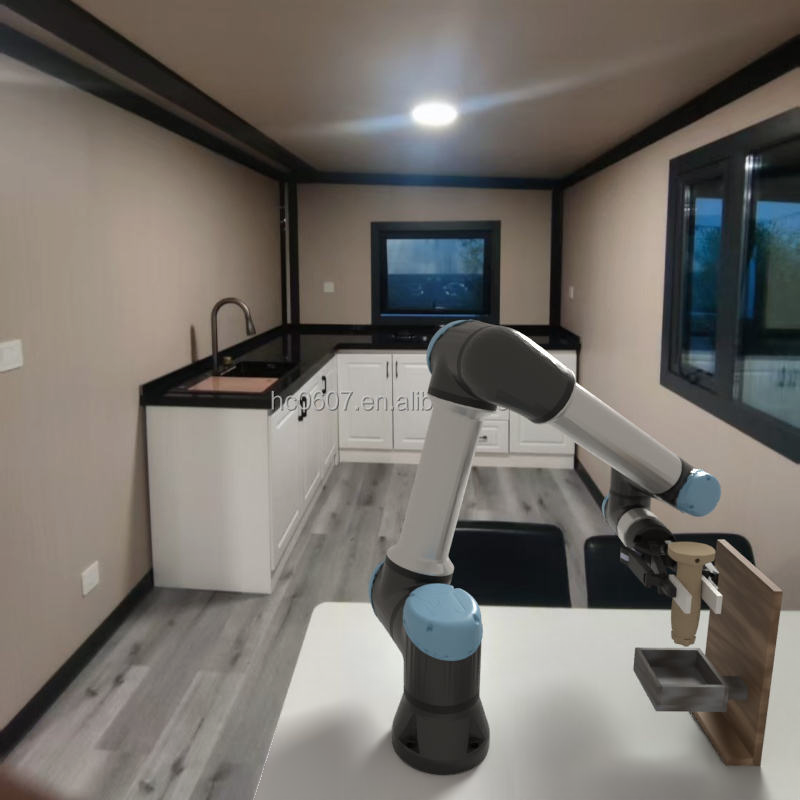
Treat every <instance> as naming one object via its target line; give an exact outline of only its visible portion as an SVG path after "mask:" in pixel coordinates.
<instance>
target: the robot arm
mask: <svg viewBox="0 0 800 800" xmlns="http://www.w3.org/2000/svg"><path fill="white" fill-rule="evenodd" d="M425 358H426V359H425V360H426V366H427V369H428V371H429V373H430V375H431V376H430V381H429V384H428V388H427V393H426V395H427V397H428V399H429V401H430V402H431V404H432V410H431V414H430V419H429V421H428V425H427V430H426V434H425V438H424V442H423V447H422V450H421V453H420V458H419V461H418V464H417V469H416V472H415V477H414V478H415V479H414V480H413V481H414V482H413V485H412V490H411V493H410V497H409V500H408V501H409V502H408V505H407V508H406V513H405V516H404V521H403V525H402V529H401V532H400V536H399V540H398V542H397V543H396V544H393V545H392V546H391V547H388V549H387V551H386V555H385V558H384V559H383V561H382V562H380V563H378V564H377V565H376V566H375V568H374V569H373V571H372V573H371V575H370V577H369V582H368V586H367V587H368V588H367V593H368V599H369V603H370V605H371V608H372V611H373V613H374V615H375V617H376V618H377V619H378V621H379V622H380V623H381V624H382V626H383V627H384V629H385V630H386V632H387V633H388V635H389V636H390V638H391V639H392V641H393V643H394V645H396V647H397V648H398V650H399V651H400V653H401V655H402V658H403V659H402V660H403V693H402V695H401V698H400V702H399V704H398V706H397V709H396V712H395V714H394V718H393V720H392V725H391V742H392V746H393V749H394V751H395V753H396V754H397V756H398V757H399V758H400V759H401V760H402V761H403V762H404V763H406V764H407V765H408V766H410V767H412V768H414V769H416V770H419V771H422V772H425V773H429V774H433V775H434V774H435V775H451V774H452V775H454V774H459V773H462V772H466V771H468V770H470V769H473V768H474V767H476V766H477V765H479V764H480V763H482V761H483V760H484V759H485V758H486V756H487V754H488V752H489V749H490V742H491V741H490V738H491V737H490V736H491V735H490V734H491V733H490V732H491V731H490V725H489V721H488V717H487V715H486V712H485V709H484V705H483V703H482V699H481V697H480V691H481V689H480V687H481V667H482V666H481V664H482V643H483V642H482V640H483V635H484V631H483V630H484V628H483V622H482V621H483V620H482V611H481V608H480V605H479V604H478V602H477V601H476V599H475V598H474V597H473V596H472V595H471V594H470V593H469V592H468V591H466V590H464V589H462V588H460V587H458V588H454V586H453V585H451V583H452V579H453V574H454V570H455V566H454V564H453V563H452V561H451V559H450V558H449V553H450V549H451V547H452V543H453V538H454V534H455V531H456V527H457V524H458V519H459V516H460V512H461V508H462V505H463V500H464V496H465V494H466V490H467V486H468V481H469V479H470V475H471V470H472V466H473V462H474V459H475V455H476V451H477V447H478V443H479V441H480V440H479V439H480V437H481V432H482V429H483V425H484V421H485V419H487V418H489V417H490V416H492V415H494V414H495V413H496V412H497V409H498V407H501V408H504V409H506V410H508V411H511V412H513V413H516V414H517V415H520V416H522V417H523V418H525V419H527V420H528V421H530V422H531V423H532V424H535V425H539V426H540V425H541V426H542V425H548V426H549V427H551V428H553V430H555V431H557V432H558V433H560V434H562V435H563V436H564V437H566V438H567V439H569V440H570V441H571V442H573V443H575V444H576V445H577V446H580V447H581V448H582V449H584V450H586V451H587V452H588V453H590V454H591V455H593V456H594V457H596V458H597V459H599V460H601V461H602V462H604V463H605V464H607V465H608V466H610V479H609V481H610V483H609V491H608V494H607V495H606V496H605V497H604V499H603V501H602V504H601V511H602V515H603V517H604V519H605V522H606V524H607V525H608V527H609V528H610V529H611V530H612V531H613V532H614V534H616V536H617V537H618V538H619V539H620V541H621V542H622V543H623V545H622V546H621V547H620V558H619V561H620V563H621V564H624V565H625V566H627V567H628V568H629V569H630V570H631V572H632V573H633V574H634V575H635V577H636V578H638V580H639V581H640V582H641V584H643V586H644V587H645V588H648V589H652V588H654V586H655V587H657V593H658V595H661V596H667V597H668V598H672V599H674V600H675V602H676V603H677V604H678V605H679V607H680V608H681V609H682V611H683V612H684V613H685V614H690V611H691V600H692V595H691V594H690V593H689V592H688V591H687V589H686V588H685V587H684V586H683V585H682V583H681V582H680V581H679V580H678V579H677V578H676V575H675V574H669V575H668V571H667V568H668V569H670V570H671V571H673V573H677V561H675V560H673V559H672V558H671V557H670V556H669V555H668V544H670V543H674V542H677V540H676V537H675V536H674V534H673V532H672V531H671V530H670V528H668V527H667V526H666V525H665V524H664V523H663V522H662V521H661V519H660V518H659V517H657V515H655V513H654V512H653V511H652V508H651V507H652V499H655V500H657V501H659V502H661V503H663V504H665V505H667V506H668V507H671V508H672V509H675V510H676V511H677V510H678V511H679V512H680V513H681V514H686V515H688V516H691V517H694V518H702V517H703V518H704V517H705V516H708V515H709V514H711V513H713V511H714V510H716V506H717V505H718V504H719V503H720V501H721V495H722V488H721V487H722V486H721V484H720V481H719V480H718V479H717V477H716V476H714V475H713V474H711V473H708V472H706V470H704V469H702V468H701V469H700V468H697V467H694V466H693V465H691V464H689V463H688V462H687V461H686V460H684V459H683V458H681V457H679V455H677V454H675V452H673V451H671V450H670V449H668V448H667V447H666V446H665V445H663V444H662V443H660V442H659V441H658V440H657V439H655V438H654V437H653V436H651V435H650V434H648V433H646V432H645V431H644V430H643V429H641V428H639V427H638V426H637V425H636V424H634V423H633V422H632V421H630V420H629V419H628V418H626V417H624V416H623V415H622V414H620V413H619V412H618V411H616V410H615V409H613V408H612V407H611V406H609V405H608V404H606V403H605V402H604V401H602V399H600V398H598V396H596V395H594V394H593V393H591V392H590V391H588V390H587V389H586V388H584V386H582V385H580V384H579V383H578V382H577V377H576V374H575V373H574V372H573V371H572V370H571V369H570V368H569V367H567V366H566V365H565V364H563V363H562V362H560V361H559V359H557V358H555V356H553V355H552V354H551V353H550V352H548V351H547V350H545V349H544V348H543V347H542V346H540V345H539V344H537V343H536V341H535V342H534V340H532V339H531V338H529V337H528V336H526V335H525V334H524V333H521V332H520V331H518V330H516V329H514V328H511V327H507V326H503V325H496V324H490V323H486V322H483V321H480V320H475V319H461V320H460V319H459V320H454V321H452V322H449V323H447V324H445V325H444V326H443V327H441V328H440V329H439V330H437V332H435V334H434V335H433V336H432V337H431V339H430V341H429V344H428V346H427V349H426V357H425ZM714 566H715V565H713V563H712V562H710V563H707V564H705V565H703V569H702V580H701V600H703V601H704V603H705V604H707V606H708V608H709V609H710V608H711V609H712V610H713V612H714V613H715V614H721V607H722V597H723V596H722V595H721V594H720V593H719V592H718V579H719V572H718V571H717V569H716V568H715V567H714Z"/></svg>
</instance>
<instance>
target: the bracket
mask: <svg viewBox="0 0 800 800" xmlns="http://www.w3.org/2000/svg"><path fill="white" fill-rule="evenodd" d="M715 547H716V548H715V551H716V552H715V559H714V565H713V566H714V567H715V568H716V569H717V571H718V572H719V579H718V592H719V593H720V594H721V595H722V596H723V597H722V607H721V614H715V613H714V612H713V610H712V609H711V608H710V607H709V615H708V624H707V635H706V641H705V642H706V643H705V651H704V652H705V653H704V652H703V650H702V649H701V648H700V647H638V646H637V647H634V657H633V666H632V668H633V672H634V674H635V676H636V677H637V680H638V681H639V684H640V685H641V687H642V689H643V691H644V692H645V694H646V696H647V698H648V699H649V702H650V703H651V706H652V707H653V709H654V710H655V712H672V713H673V712H675V713H676V712H677V713H678V712H679V713H683V712H684V713H685V712H688V713H692V714H693V716H694V717H695V718H696V720H697V722H698V723H699V725H700V727H701V728H702V730H703V731H704V733H705V735H706V736H707V738H708V740H709V741H710V742H711V744H712V746H713V747H714V749H715V750H716V752H717V754H718V755H719V757H720V759H721V760H722V762H723V763H724V764H725V766H727V767H728V766H729V767H730V766H735V767H737V766H738V767H739V766H743V767H745V766H747V767H749V766H752V767H753V766H754V767H760V766H761V765H762V757H763V750H764V749H763V748H764V744H765V742H764V741H765V734H766V726H767V718H768V711H769V710H768V709H769V703H770V695H771V694H770V693H771V686H772V681H773V680H772V679H773V671H774V663H775V656H776V648H777V641H778V640H777V639H778V634H779V626H780V616H781V609H782V601H783V592H784V591H783V590H782V589H781V588H780V587H779V586H778V585H777V584H775V582H773V581H772V580H771V579H769V577H767V575H765V574H764V573H763V572H762V571H760V570H759V569H758V568H757V566H755V564H752V562H751V561H750V560H748V559H747V558H746V557H745V556H744V555H742V554H741V552H739V551H738V550H737V549H736V548H735V547H734V546H732V544H730V543H729V542H728V541H727V540H726V539H717V541H716V546H715Z"/></svg>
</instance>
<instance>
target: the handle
mask: <svg viewBox="0 0 800 800" xmlns="http://www.w3.org/2000/svg"><path fill="white" fill-rule="evenodd" d="M668 555H669V556H670V557H671V558H672V559H673V560H675V561H677V572H676V575H675V576H676V578H677V579H678V580H679V581H680V582H681V583H682V585H683V586H684V587H685V588H686V589H687V591H688V592H689V593H690V594H691V595H692V600H691V611H690V614H685V613H684V612H683V611H682V609H681V608H680V607H679V605H678V604H677V603H676V602H675V600H674V599H673V598H672V601H671V609H670V625H671V630H670V637H671V640H673V643H674V644H675V645H681V646H683V647H684V648H689V646H691V645H694V644H695V642H696V638H697V636H696V635H697V632H698V628H699V623H700V619H701V618H700V617H701V608H702V606H701V605H702V598H701V580H702V569H703V565H705V564H707V563H710V562H711V563H712V562H715V556H716V549H715V548H714V547H713V546H711V545H709V544H706V543H701V542H696V541H695V542H694V541H676V542H674V543H670V544H668Z"/></svg>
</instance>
